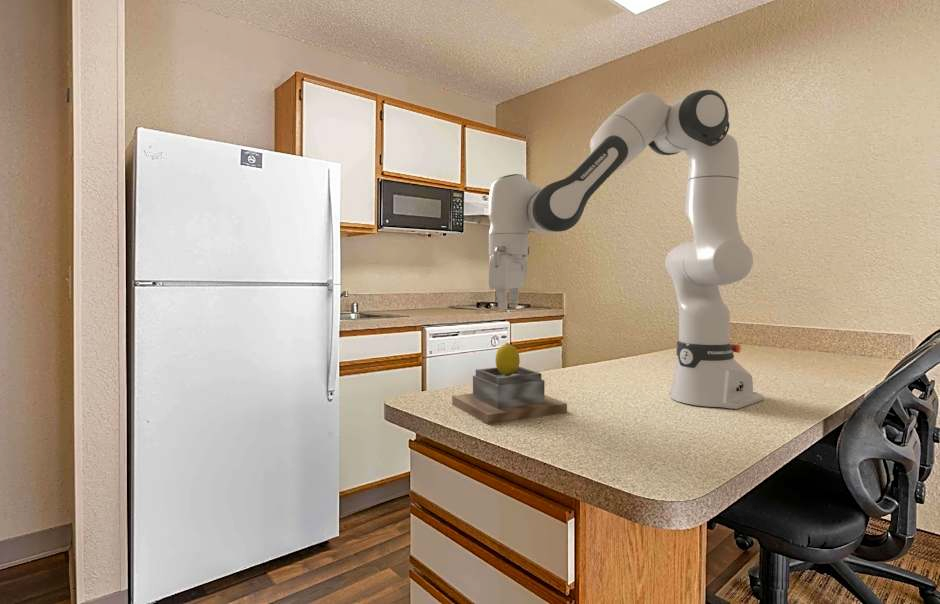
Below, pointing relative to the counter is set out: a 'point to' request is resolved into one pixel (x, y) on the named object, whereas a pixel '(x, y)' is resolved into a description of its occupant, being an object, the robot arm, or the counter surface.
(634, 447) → the counter surface
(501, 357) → the lemon
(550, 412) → the plinth
